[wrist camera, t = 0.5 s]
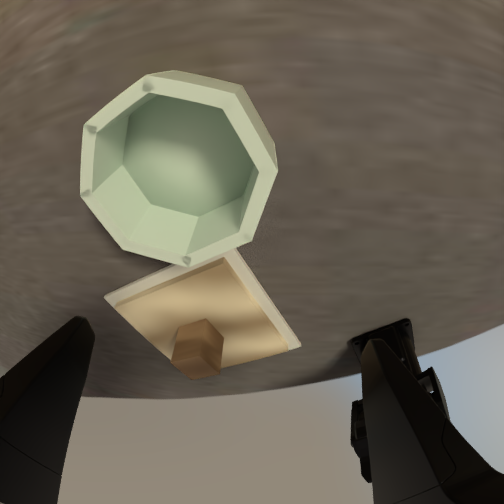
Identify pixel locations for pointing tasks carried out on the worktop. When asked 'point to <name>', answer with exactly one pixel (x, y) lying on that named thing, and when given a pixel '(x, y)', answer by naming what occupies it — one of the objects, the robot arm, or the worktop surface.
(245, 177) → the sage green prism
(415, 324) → the worktop surface
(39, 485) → the robot arm
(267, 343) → the lid
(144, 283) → the mat
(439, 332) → the worktop surface
